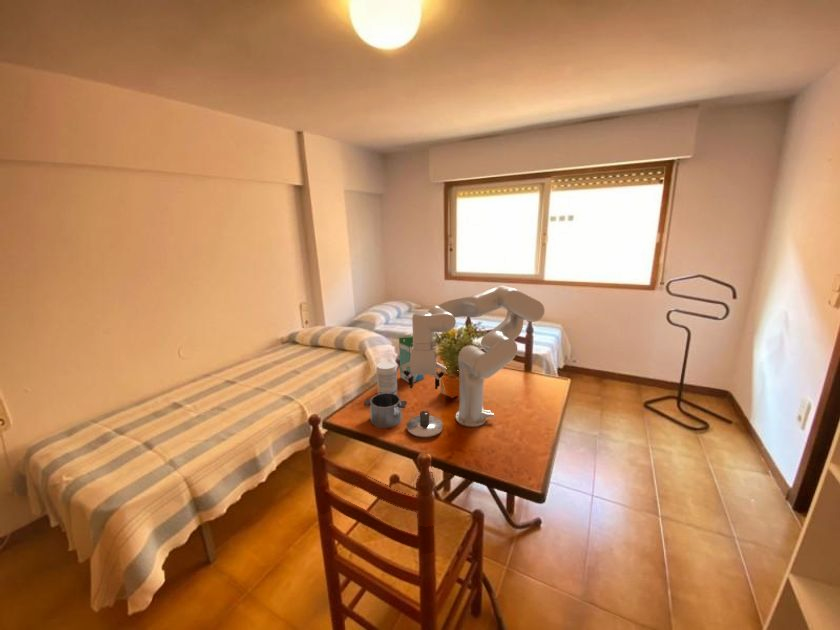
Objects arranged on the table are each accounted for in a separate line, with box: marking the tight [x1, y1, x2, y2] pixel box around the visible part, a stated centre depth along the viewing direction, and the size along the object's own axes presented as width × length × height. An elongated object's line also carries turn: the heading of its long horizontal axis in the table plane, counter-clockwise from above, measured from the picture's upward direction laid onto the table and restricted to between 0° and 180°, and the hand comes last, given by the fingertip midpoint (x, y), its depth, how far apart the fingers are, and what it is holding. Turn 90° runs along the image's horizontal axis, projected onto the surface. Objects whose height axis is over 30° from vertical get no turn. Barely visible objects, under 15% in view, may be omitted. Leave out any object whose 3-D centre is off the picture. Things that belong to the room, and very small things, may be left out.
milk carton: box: [398, 332, 425, 383], centre depth 177 cm, size 9×9×25 cm
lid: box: [406, 410, 443, 438], centre depth 133 cm, size 14×14×7 cm
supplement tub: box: [375, 361, 398, 395], centre depth 162 cm, size 10×10×15 cm
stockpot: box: [363, 393, 408, 429], centre depth 140 cm, size 17×13×9 cm
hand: (424, 387), depth 130 cm, fingers open, 9 cm apart
